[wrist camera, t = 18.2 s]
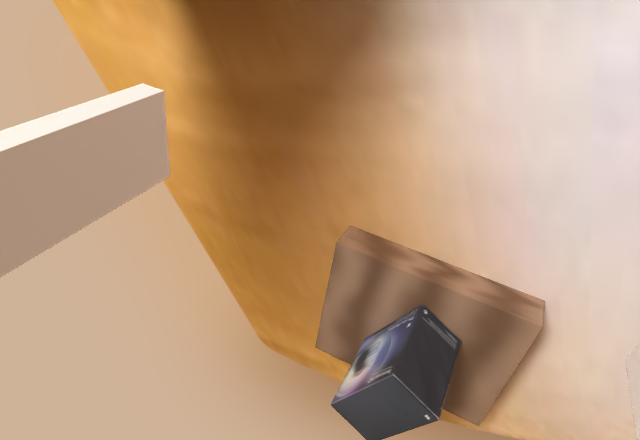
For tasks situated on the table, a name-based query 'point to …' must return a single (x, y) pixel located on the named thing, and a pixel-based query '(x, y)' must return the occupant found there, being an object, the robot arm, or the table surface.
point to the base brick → (442, 300)
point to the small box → (399, 376)
